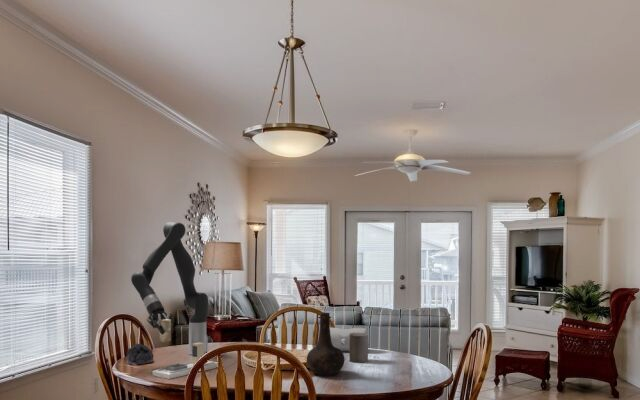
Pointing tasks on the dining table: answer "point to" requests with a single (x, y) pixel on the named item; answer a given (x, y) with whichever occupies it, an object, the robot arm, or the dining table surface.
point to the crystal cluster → (139, 355)
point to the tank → (344, 337)
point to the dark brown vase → (325, 351)
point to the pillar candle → (358, 347)
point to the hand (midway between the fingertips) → (167, 332)
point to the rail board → (185, 364)
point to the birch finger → (167, 327)
